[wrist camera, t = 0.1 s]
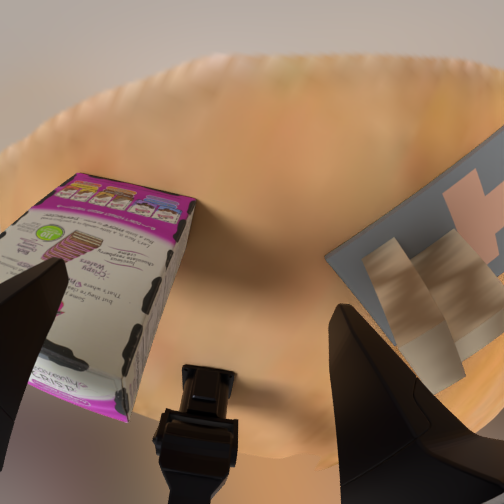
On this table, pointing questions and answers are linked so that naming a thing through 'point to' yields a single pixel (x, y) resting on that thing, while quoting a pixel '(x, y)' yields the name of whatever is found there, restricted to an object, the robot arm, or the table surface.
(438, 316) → the maple T block
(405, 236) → the slate board
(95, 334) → the candy bar box
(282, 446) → the table surface
